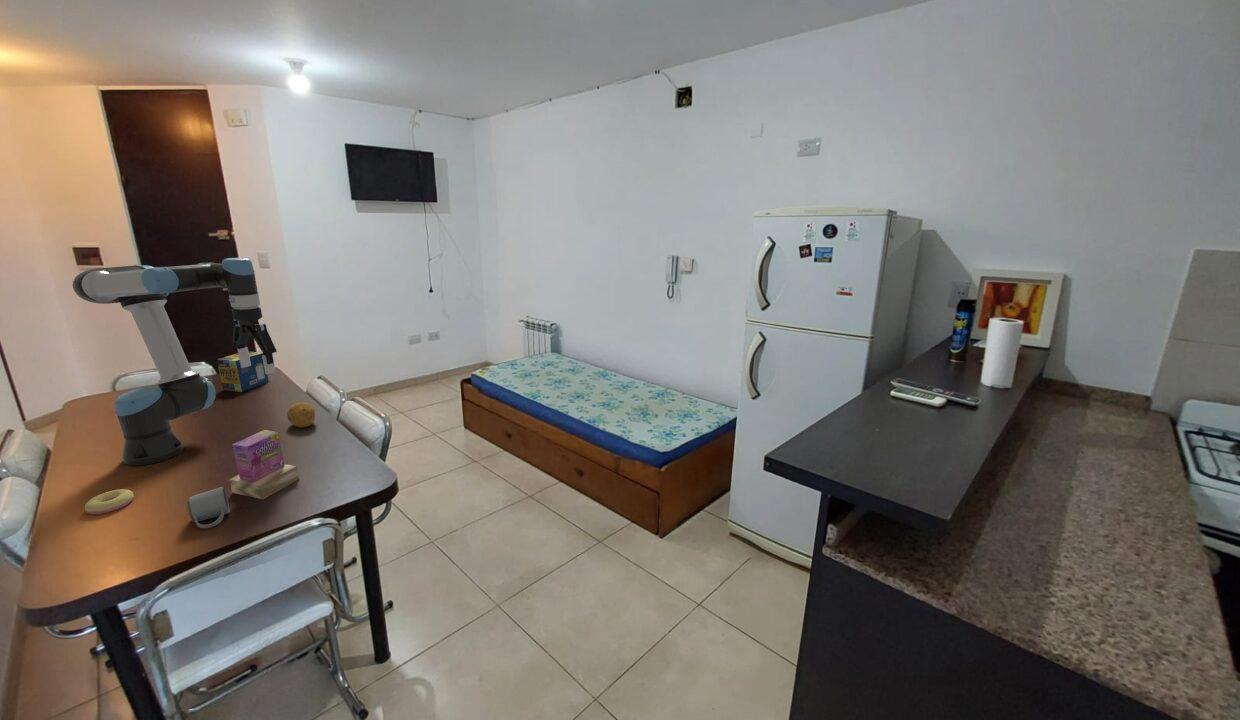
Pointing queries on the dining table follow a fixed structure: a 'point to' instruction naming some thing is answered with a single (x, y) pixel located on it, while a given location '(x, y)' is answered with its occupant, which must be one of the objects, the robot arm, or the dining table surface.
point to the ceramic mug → (208, 506)
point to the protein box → (242, 372)
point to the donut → (109, 501)
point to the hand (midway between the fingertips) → (258, 369)
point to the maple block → (265, 483)
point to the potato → (301, 414)
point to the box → (258, 455)
